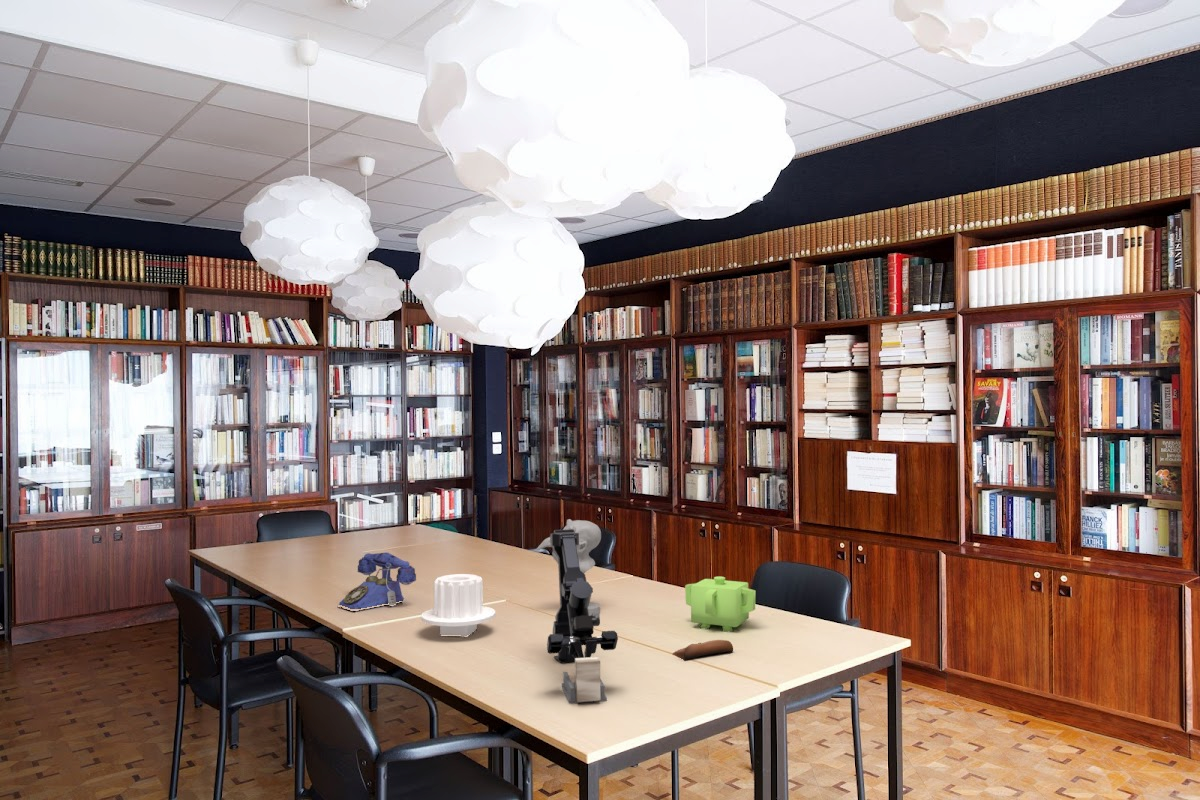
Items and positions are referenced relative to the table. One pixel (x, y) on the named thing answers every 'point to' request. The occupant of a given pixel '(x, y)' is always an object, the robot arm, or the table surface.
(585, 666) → the cream block
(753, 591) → the storage box
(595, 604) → the bust sculpture
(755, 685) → the table surface
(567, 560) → the robot arm
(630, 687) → the table surface
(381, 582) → the rotary telephone
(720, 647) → the brown elongated lump
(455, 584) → the flanged gear
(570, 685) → the gray chute
